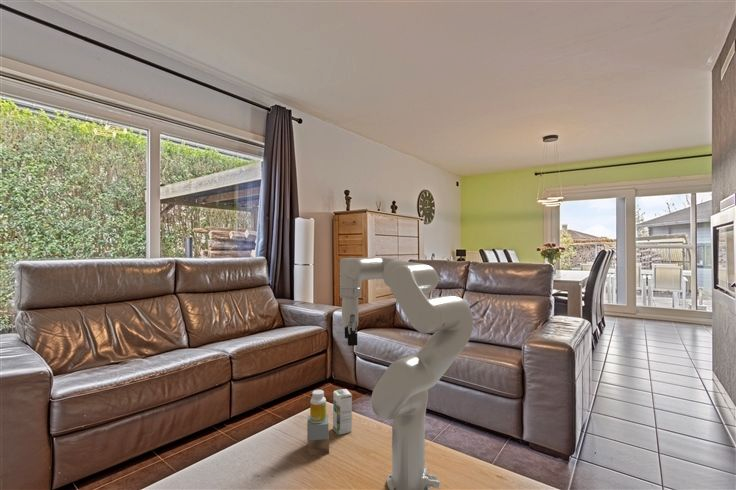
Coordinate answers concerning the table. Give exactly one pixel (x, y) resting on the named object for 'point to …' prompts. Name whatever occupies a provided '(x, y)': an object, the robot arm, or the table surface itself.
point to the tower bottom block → (318, 446)
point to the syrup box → (342, 411)
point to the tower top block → (317, 430)
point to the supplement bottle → (318, 407)
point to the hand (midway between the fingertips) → (350, 341)
